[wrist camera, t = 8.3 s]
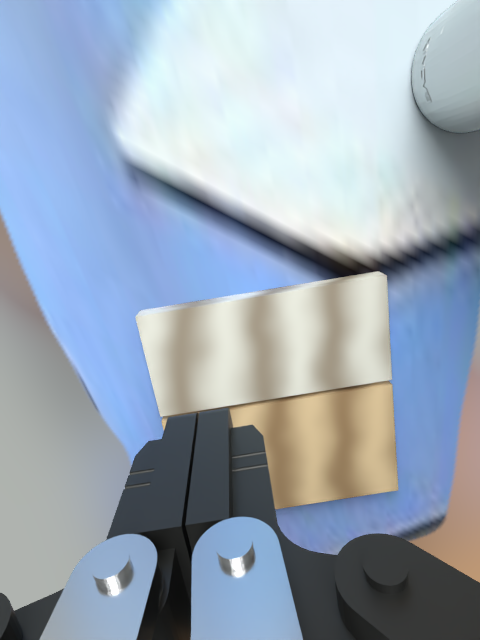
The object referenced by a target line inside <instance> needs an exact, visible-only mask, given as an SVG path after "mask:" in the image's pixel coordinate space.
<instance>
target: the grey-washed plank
mask: <svg viewBox="0 0 480 640" xmlns="http://www.w3.org/2000/svg"><path fill="white" fill-rule="evenodd" d="M136 321H137V325H138V329H139V333H140V337H141V341H142V345H143V349H144V353H145V357H146V361H147V365H148V369H149V373H150V377H151V381H152V385H153V389H154V393H155V397H156V401H157V405H158V409H159V413H160V417H163V416H169V415H175V414H181V413H188V412H194V411H200V410H206V409H213V408H219V407H225V406H231V405H238V404H244V403H250V402H256V401H263V400H269V399H275V398H281V397H288V396H294V395H300V394H306V393H313V392H319V391H325V390H332V389H338V388H344V387H350V386H357V385H363V384H369V383H375V382H382V381H388V380H392V370H391V351H390V331H389V311H388V291H387V276H386V275H384V274H383V273H381V272H379V271H378V272H372V273H365V274H359V275H353V276H347V277H341V278H335V279H329V280H323V281H317V282H311V283H305V284H299V285H292V286H286V287H280V288H274V289H268V290H262V291H256V292H250V293H244V294H238V295H232V296H226V297H220V298H213V299H207V300H201V301H195V302H189V303H183V304H177V305H171V306H165V307H159V308H153V309H147V310H140V311H139V313H138V314H137V315H136Z"/></svg>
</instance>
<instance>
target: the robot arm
mask: <svg viewBox="0 0 480 640" xmlns="http://www.w3.org/2000/svg"><path fill="white" fill-rule="evenodd" d="M412 87H413V93H414V96H415V99H416V102H417V105H418V107H419V108H420V110H421V112H422V113H423V115H424V116H425V117H426V118H427V119H428V120H429V121H430V122H431V123H432V124H434V125H435V126H437V127H439V128H440V129H443V130H446V131H449V132H456V133H466V132H471V131H476V130H480V0H457V1H456V2H455V3H454V4H453V5H451V6H450V7H449V8H448V9H447V10H445V11H444V12H443V13H442V14H441V15H440V16H439V17H438V18H437V19H436V20H435V21H434V22H433V23H432V24H431V25H430V26H429V28H428V29H427V31H426V32H425V34H424V35H423V37H422V38H421V41H420V43H419V45H418V47H417V50H416V53H415V57H414V61H413V65H412ZM190 637H191V640H480V583H479V582H477V581H476V580H474V579H472V578H470V577H469V576H467V575H465V574H464V573H462V572H460V571H458V570H457V569H455V568H453V567H452V566H450V565H448V564H446V563H445V562H443V561H441V560H439V559H438V558H436V557H434V556H433V555H431V554H429V553H427V552H426V551H424V550H422V549H420V548H419V547H417V546H415V545H414V544H412V543H410V542H408V541H406V540H404V539H402V538H399V537H396V536H392V535H388V534H368V535H363V536H360V537H357V538H355V539H353V540H351V541H350V542H348V543H347V544H346V545H345V546H344V547H343V548H342V549H341V551H340V552H339V554H338V556H337V555H331V554H324V553H317V552H313V551H309V550H306V549H303V548H301V547H299V546H297V545H295V544H294V543H292V542H291V541H290V540H289V539H288V538H286V537H285V536H284V534H283V533H282V532H281V530H280V528H279V526H278V524H277V518H276V511H275V505H274V499H273V492H272V486H271V480H270V474H269V468H268V462H267V456H266V450H265V444H264V437H263V435H262V434H261V433H260V432H259V431H258V430H257V429H256V428H255V427H254V425H247V426H240V427H234V428H233V423H232V418H231V413H230V409H229V408H223V409H216V410H210V411H204V412H200V413H199V414H198V413H192V414H186V415H179V416H173V417H168V419H167V422H166V426H165V429H164V433H163V437H162V439H159V440H153V441H148V442H147V444H146V445H145V446H144V447H143V448H142V449H141V450H140V451H139V453H138V454H137V455H136V456H135V458H134V461H133V464H132V467H131V470H130V475H129V476H128V479H127V482H126V484H125V489H124V490H123V493H122V496H121V499H120V502H119V505H118V507H117V510H116V513H115V516H114V519H113V522H112V525H111V528H110V531H109V534H108V536H107V539H106V541H104V542H102V543H100V544H99V545H97V546H96V547H94V548H93V549H91V551H89V552H88V553H87V554H86V555H85V556H84V557H83V558H82V559H81V560H80V561H79V563H78V564H77V565H76V567H75V568H74V570H73V572H72V574H71V575H70V577H69V580H68V582H67V584H66V586H65V588H64V589H62V590H60V591H58V592H56V593H54V594H52V595H49V596H47V597H45V598H43V599H40V600H38V601H36V602H34V603H31V604H29V605H27V606H24V607H22V608H20V609H18V610H15V611H14V610H13V608H12V606H11V604H10V601H9V600H8V598H7V597H6V596H5V595H4V594H2V593H0V640H190Z"/></svg>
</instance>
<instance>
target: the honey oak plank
mask: <svg viewBox="0 0 480 640" xmlns="http://www.w3.org/2000/svg"><path fill="white" fill-rule="evenodd" d="M223 408H229V409H230V413H231V418H232V423H233V428H234V427H240V426H247V425H254V427H255V428H256V429H257V430H258V431H259V432H260V433H261V434H262V435H263V437H264V444H265V450H266V456H267V462H268V468H269V474H270V480H271V486H272V492H273V499H274V505H275V509H280V508H287V507H293V506H300V505H306V504H313V503H319V502H325V501H332V500H338V499H345V498H351V497H358V496H364V495H370V494H377V493H383V492H390V491H396V490H398V477H397V459H396V442H395V425H394V407H393V390H392V384H391V383H390V382H389V381H382V382H375V383H369V384H363V385H357V386H350V387H344V388H338V389H332V390H325V391H319V392H313V393H306V394H300V395H294V396H288V397H281V398H275V399H269V400H263V401H256V402H250V403H244V404H238V405H231V406H225V407H219V408H213V409H206V410H200V411H194V412H188V413H181V414H175V415H169V416H163V418H162V425H163V429H165V426H166V422H167V419H168V417H173V416H179V415H186V414H192V413H198V414H199V413H200V412H204V411H210V410H216V409H223Z"/></svg>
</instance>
